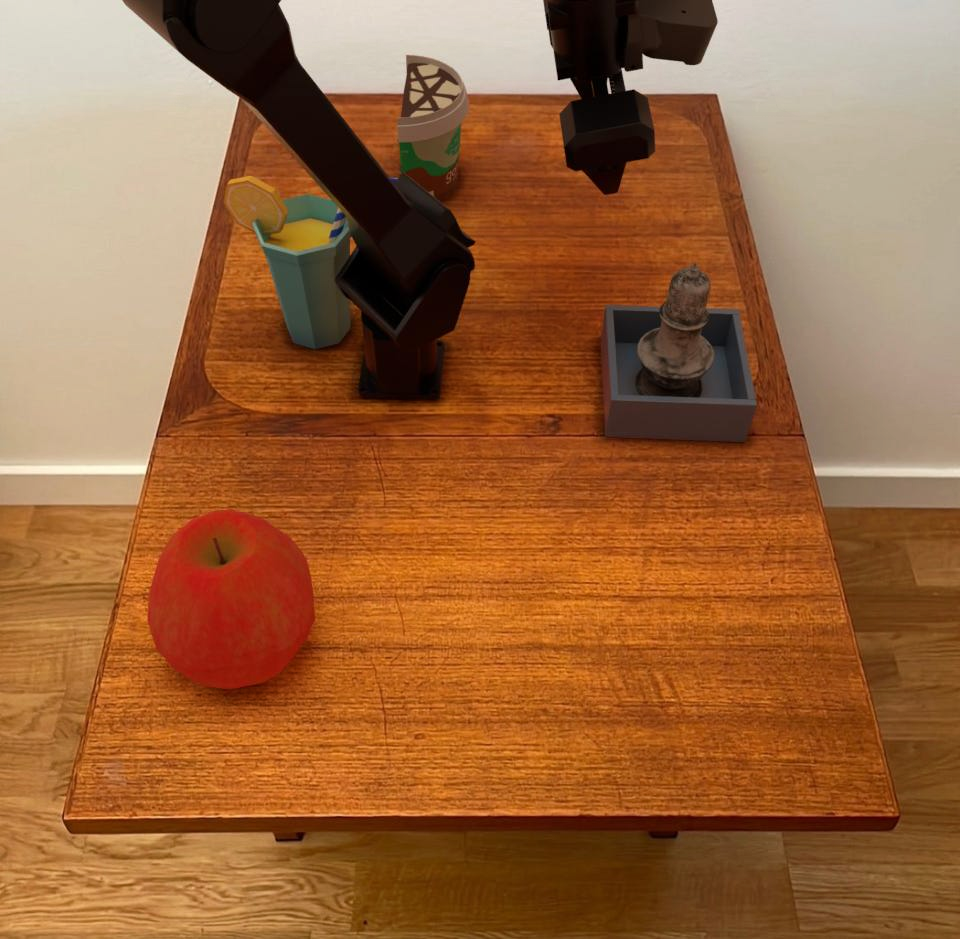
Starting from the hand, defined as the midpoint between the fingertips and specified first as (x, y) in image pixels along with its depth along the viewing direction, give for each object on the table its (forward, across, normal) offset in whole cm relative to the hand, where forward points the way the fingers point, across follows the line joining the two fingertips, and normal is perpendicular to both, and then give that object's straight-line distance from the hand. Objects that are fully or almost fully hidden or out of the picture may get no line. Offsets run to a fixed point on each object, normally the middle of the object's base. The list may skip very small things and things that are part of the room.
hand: (603, 151), depth 80 cm
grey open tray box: (+10, -17, -2) cm, 20 cm away
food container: (+12, +12, +16) cm, 23 cm away
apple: (0, -38, +28) cm, 47 cm away
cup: (+6, -8, +25) cm, 27 cm away
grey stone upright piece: (+10, -17, -2) cm, 20 cm away
